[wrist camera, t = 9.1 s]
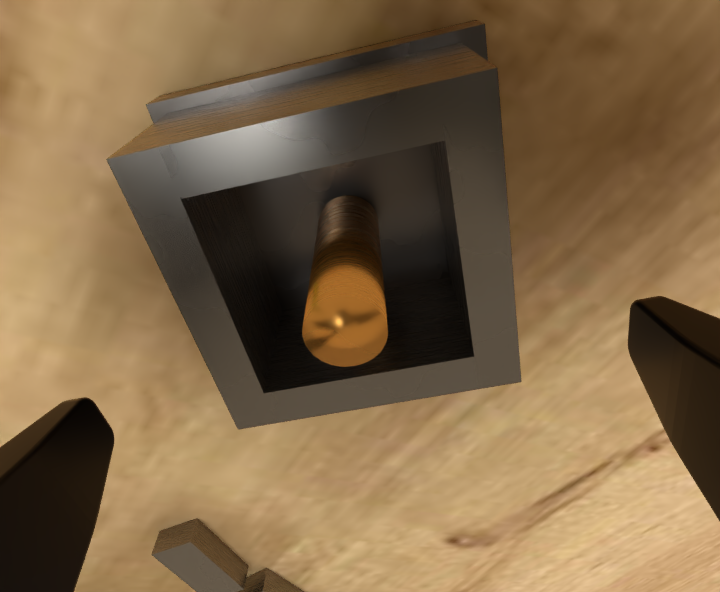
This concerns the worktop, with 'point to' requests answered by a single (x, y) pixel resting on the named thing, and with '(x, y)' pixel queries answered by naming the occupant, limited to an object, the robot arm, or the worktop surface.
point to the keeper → (344, 212)
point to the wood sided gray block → (268, 583)
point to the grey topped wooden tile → (200, 558)
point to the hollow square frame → (317, 150)
